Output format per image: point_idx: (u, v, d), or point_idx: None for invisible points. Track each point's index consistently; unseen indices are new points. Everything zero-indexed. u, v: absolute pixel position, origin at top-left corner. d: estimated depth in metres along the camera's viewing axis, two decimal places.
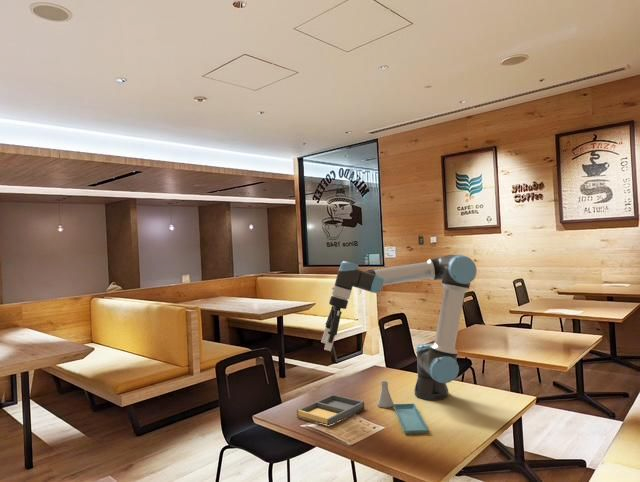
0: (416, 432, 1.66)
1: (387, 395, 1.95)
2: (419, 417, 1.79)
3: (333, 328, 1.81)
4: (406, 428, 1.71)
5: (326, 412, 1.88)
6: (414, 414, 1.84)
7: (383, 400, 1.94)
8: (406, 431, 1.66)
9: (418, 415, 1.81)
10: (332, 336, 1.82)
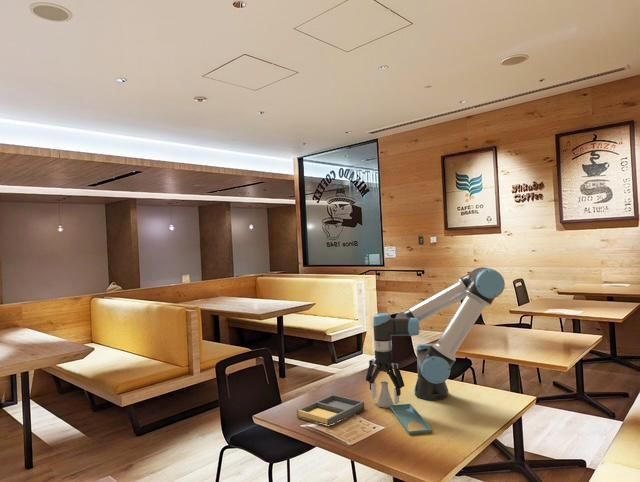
0: (420, 432, 1.66)
1: (387, 395, 1.95)
2: (419, 417, 1.79)
3: (401, 382, 1.91)
4: None
5: (326, 412, 1.88)
6: (412, 414, 1.84)
7: (383, 400, 1.94)
8: (410, 432, 1.66)
9: (417, 415, 1.81)
10: (399, 389, 1.92)
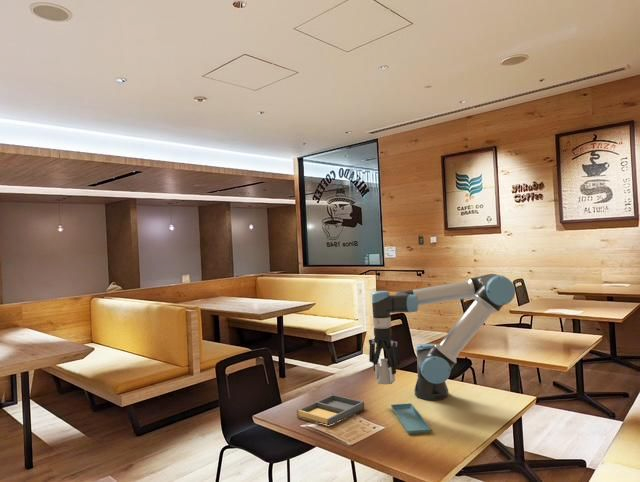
0: (419, 432, 1.66)
1: (387, 372, 1.95)
2: (419, 417, 1.79)
3: (397, 360, 1.92)
4: (408, 428, 1.71)
5: (326, 412, 1.88)
6: (413, 414, 1.84)
7: (383, 377, 1.94)
8: (409, 431, 1.66)
9: (417, 415, 1.81)
10: (395, 367, 1.93)
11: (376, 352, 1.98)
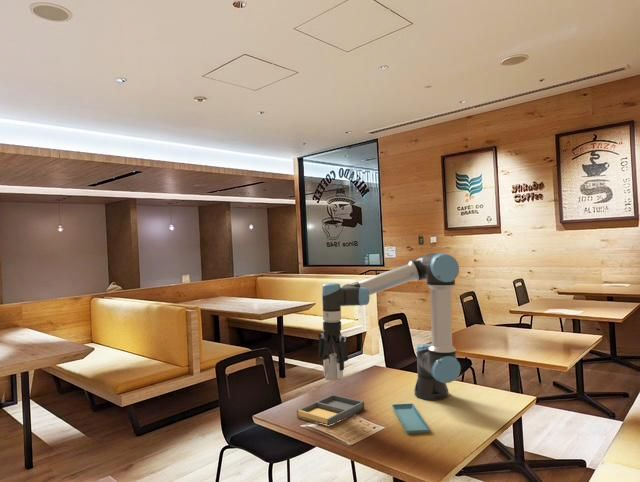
0: (418, 432, 1.66)
1: (335, 368, 1.86)
2: (419, 417, 1.79)
3: (345, 356, 1.83)
4: (407, 428, 1.71)
5: (326, 412, 1.88)
6: (413, 414, 1.84)
7: (331, 372, 1.86)
8: (408, 431, 1.66)
9: (418, 415, 1.81)
10: (343, 363, 1.85)
11: (325, 347, 1.89)
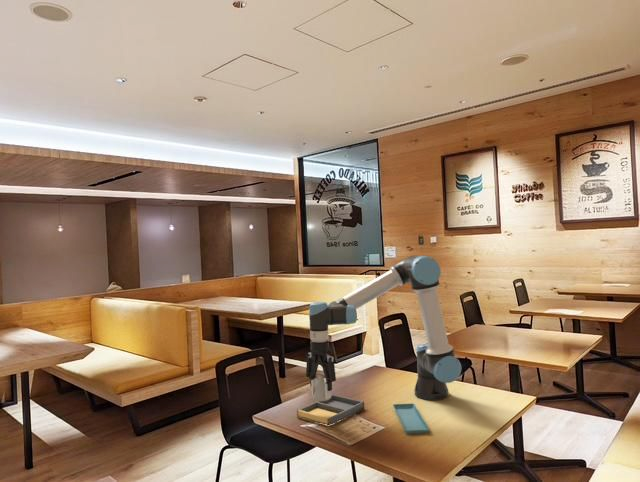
0: (417, 432, 1.66)
1: (323, 388, 1.84)
2: (419, 417, 1.79)
3: (332, 376, 1.81)
4: (407, 428, 1.71)
5: (326, 412, 1.88)
6: (414, 414, 1.84)
7: (319, 393, 1.83)
8: (407, 431, 1.66)
9: (418, 415, 1.81)
10: (331, 383, 1.82)
11: (313, 367, 1.87)
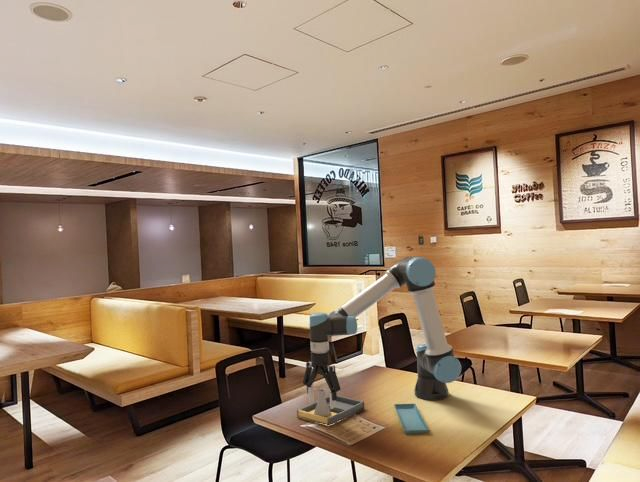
0: (416, 432, 1.66)
1: (324, 404, 1.84)
2: (420, 417, 1.79)
3: (336, 386, 1.80)
4: (406, 427, 1.71)
5: None
6: (415, 414, 1.84)
7: (320, 408, 1.83)
8: (406, 431, 1.66)
9: (419, 415, 1.81)
10: (335, 393, 1.81)
11: (311, 376, 1.87)
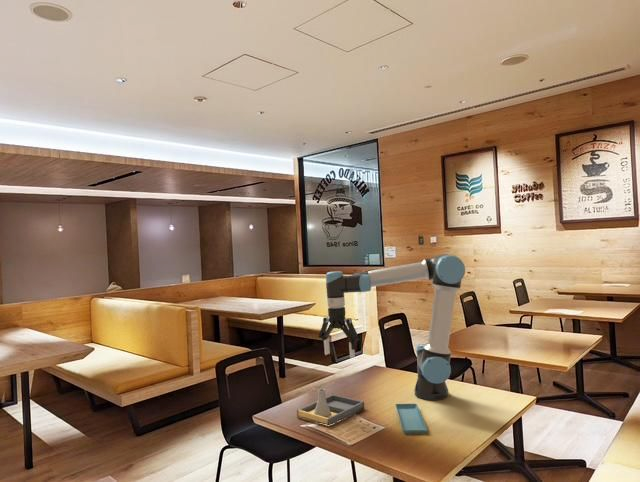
0: (415, 432, 1.66)
1: (324, 404, 1.84)
2: (420, 417, 1.79)
3: (355, 335, 1.92)
4: (405, 427, 1.72)
5: None
6: (415, 414, 1.84)
7: (320, 408, 1.83)
8: (405, 431, 1.66)
9: (419, 415, 1.81)
10: (354, 343, 1.93)
11: (328, 330, 2.00)
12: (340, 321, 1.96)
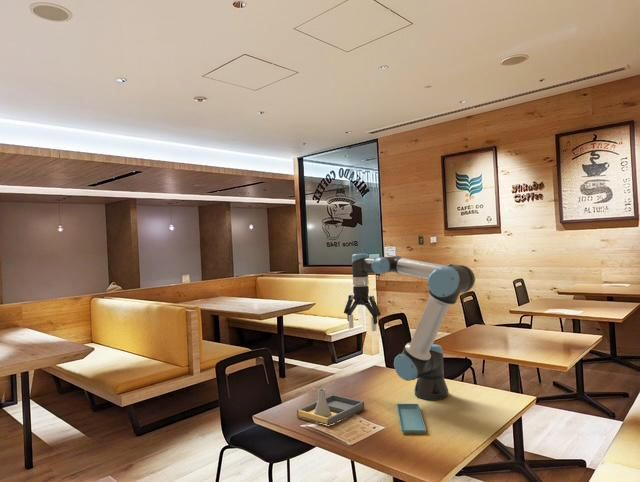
0: (414, 432, 1.66)
1: (324, 404, 1.84)
2: (420, 417, 1.79)
3: (377, 311, 2.13)
4: (405, 427, 1.72)
5: None
6: (416, 414, 1.84)
7: (320, 408, 1.83)
8: (404, 430, 1.66)
9: (420, 415, 1.80)
10: (376, 318, 2.14)
11: (352, 306, 2.22)
12: (364, 298, 2.17)
